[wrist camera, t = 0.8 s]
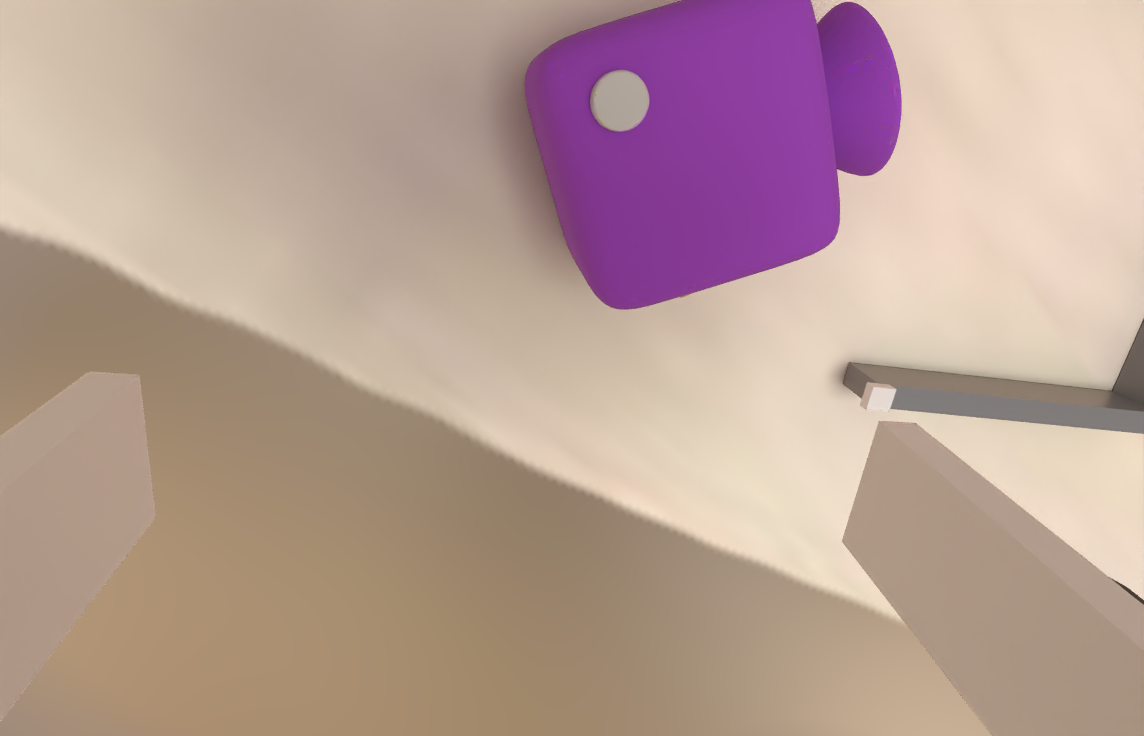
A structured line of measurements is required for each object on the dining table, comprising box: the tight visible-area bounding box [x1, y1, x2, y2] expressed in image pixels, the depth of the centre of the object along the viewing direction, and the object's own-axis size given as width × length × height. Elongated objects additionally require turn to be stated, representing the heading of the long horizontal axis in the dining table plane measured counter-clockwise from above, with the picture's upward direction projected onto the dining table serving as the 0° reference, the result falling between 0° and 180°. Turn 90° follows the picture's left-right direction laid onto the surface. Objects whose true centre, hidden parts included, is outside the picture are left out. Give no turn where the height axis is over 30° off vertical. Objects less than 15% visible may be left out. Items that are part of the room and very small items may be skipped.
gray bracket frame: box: [843, 321, 1144, 434], centre depth 33 cm, size 22×18×4 cm
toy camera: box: [525, 0, 901, 309], centre depth 27 cm, size 11×14×10 cm
